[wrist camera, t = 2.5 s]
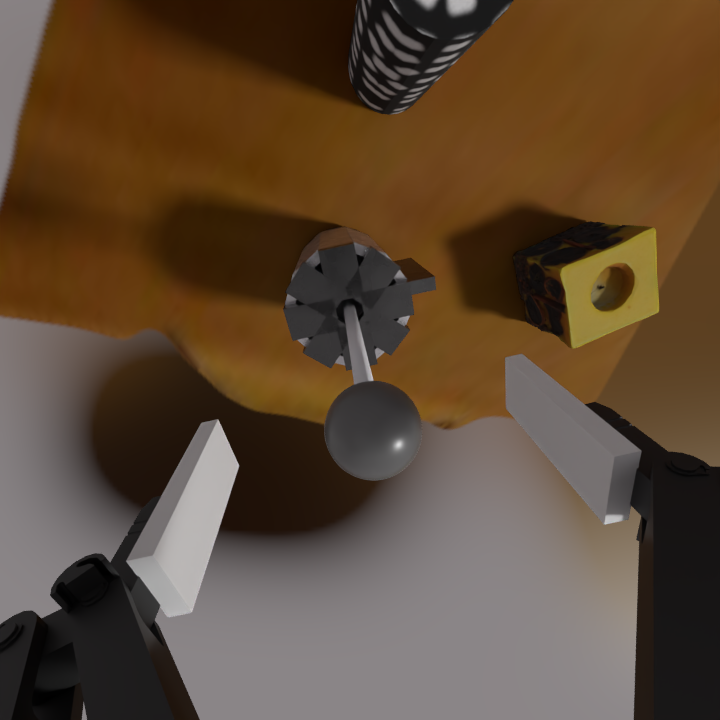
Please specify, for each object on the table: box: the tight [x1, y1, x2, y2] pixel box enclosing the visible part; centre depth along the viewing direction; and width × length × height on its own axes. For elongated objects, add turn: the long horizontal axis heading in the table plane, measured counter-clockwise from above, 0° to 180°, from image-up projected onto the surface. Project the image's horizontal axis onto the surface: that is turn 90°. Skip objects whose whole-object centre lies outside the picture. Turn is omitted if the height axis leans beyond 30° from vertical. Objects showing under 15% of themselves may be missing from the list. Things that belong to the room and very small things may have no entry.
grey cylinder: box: [283, 227, 436, 371], centre depth 36 cm, size 10×13×16 cm
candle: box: [513, 222, 659, 349], centre depth 42 cm, size 10×10×10 cm
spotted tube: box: [348, 0, 513, 114], centre depth 26 cm, size 8×8×20 cm
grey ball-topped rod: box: [316, 254, 422, 480], centre depth 24 cm, size 8×8×24 cm
